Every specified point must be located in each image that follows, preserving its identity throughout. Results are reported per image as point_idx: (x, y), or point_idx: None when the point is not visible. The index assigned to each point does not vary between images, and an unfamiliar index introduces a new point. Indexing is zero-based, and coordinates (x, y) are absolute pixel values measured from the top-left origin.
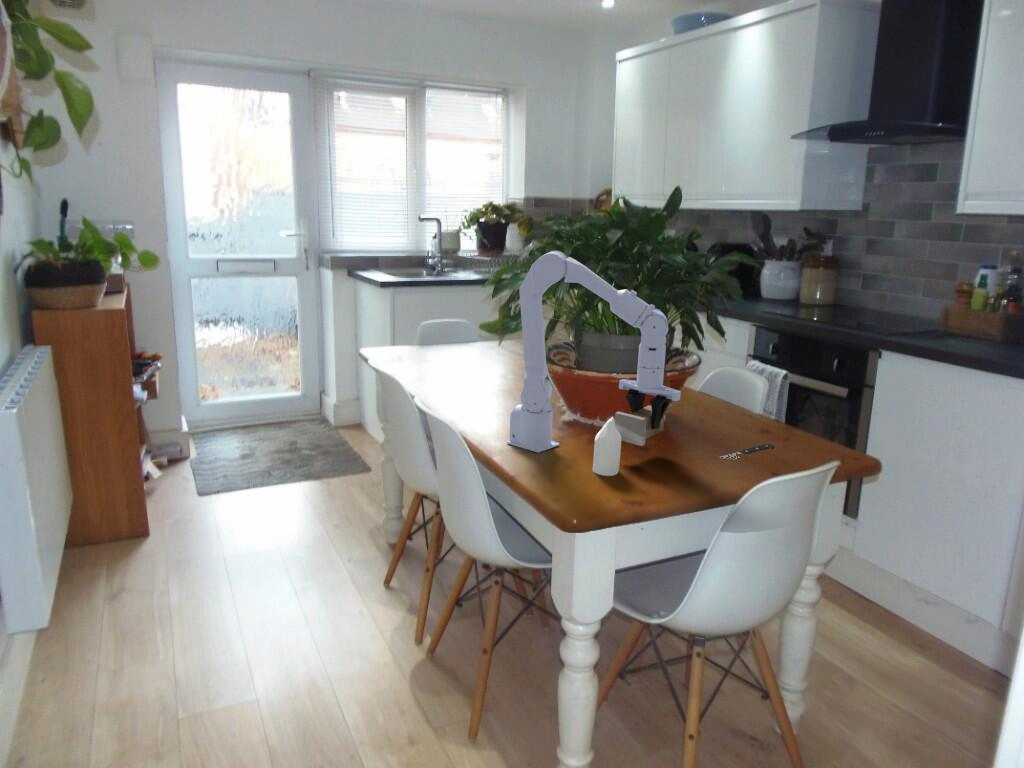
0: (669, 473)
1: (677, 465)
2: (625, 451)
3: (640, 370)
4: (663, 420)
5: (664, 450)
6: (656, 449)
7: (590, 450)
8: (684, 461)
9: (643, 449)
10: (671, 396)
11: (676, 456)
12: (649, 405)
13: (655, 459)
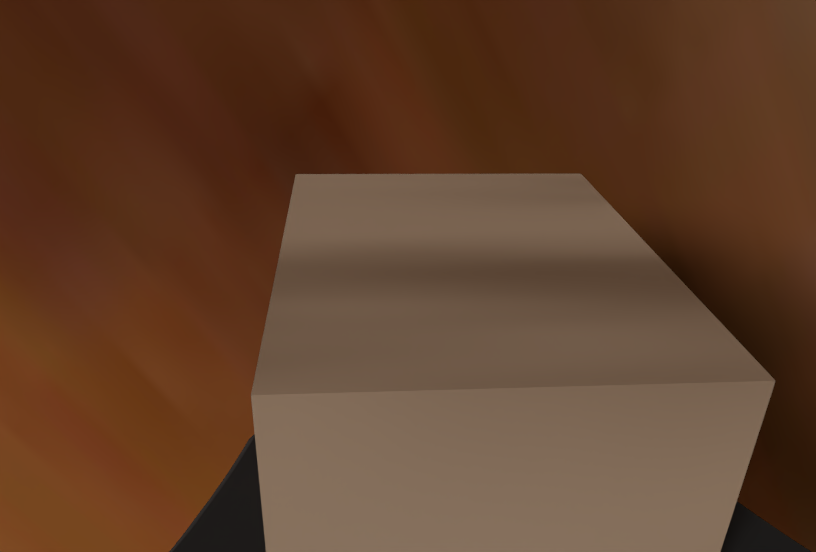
0: (763, 495)
1: (761, 317)
2: (228, 341)
3: None
4: (638, 249)
5: (494, 24)
6: (412, 60)
7: (10, 525)
8: (784, 183)
9: (313, 165)
10: None
11: (672, 109)
12: (276, 395)
13: None
